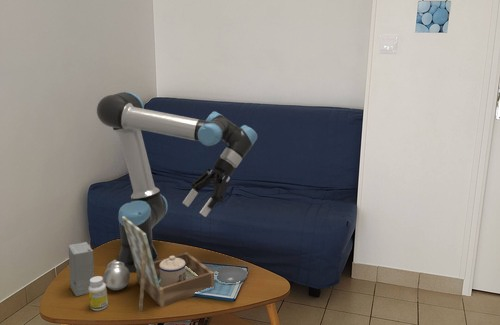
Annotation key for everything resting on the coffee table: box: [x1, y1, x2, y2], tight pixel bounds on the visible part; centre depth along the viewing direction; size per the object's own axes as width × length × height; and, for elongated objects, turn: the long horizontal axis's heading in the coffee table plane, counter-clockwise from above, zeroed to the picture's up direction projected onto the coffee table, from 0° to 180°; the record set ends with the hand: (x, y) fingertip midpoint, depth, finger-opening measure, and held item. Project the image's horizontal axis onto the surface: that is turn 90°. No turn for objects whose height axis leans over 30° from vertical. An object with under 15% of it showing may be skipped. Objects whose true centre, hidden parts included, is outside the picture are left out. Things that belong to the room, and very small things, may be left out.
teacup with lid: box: [159, 255, 187, 287], centre depth 160 cm, size 12×9×12 cm
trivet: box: [215, 265, 248, 283], centre depth 167 cm, size 12×12×1 cm
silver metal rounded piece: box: [103, 259, 131, 291], centre depth 159 cm, size 9×10×10 cm
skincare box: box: [67, 241, 95, 297], centre depth 158 cm, size 8×7×16 cm
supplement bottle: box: [88, 275, 109, 311], centre depth 148 cm, size 5×5×10 cm
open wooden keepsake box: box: [122, 216, 215, 312], centre depth 157 cm, size 20×27×26 cm
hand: (193, 209), depth 167 cm, fingers open, 13 cm apart
